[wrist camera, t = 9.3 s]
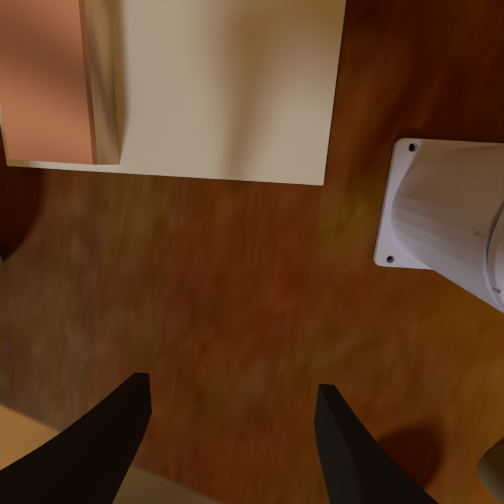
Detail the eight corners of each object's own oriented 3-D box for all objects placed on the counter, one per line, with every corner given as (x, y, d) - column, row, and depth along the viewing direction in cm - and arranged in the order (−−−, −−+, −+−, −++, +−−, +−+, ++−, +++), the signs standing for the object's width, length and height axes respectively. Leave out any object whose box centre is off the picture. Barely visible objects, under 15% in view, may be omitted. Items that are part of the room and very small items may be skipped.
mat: (356, -99, 15) (359, -110, 14) (321, 184, 19) (323, 185, 18) (-32, -115, 15) (-43, -126, 15) (15, 165, 19) (7, 165, 19)
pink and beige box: (119, 164, 18) (92, 164, 16) (48, 160, 18) (9, 159, 16) (108, -10, 16) (73, -48, 13) (26, -14, 16) (-26, -54, 13)
